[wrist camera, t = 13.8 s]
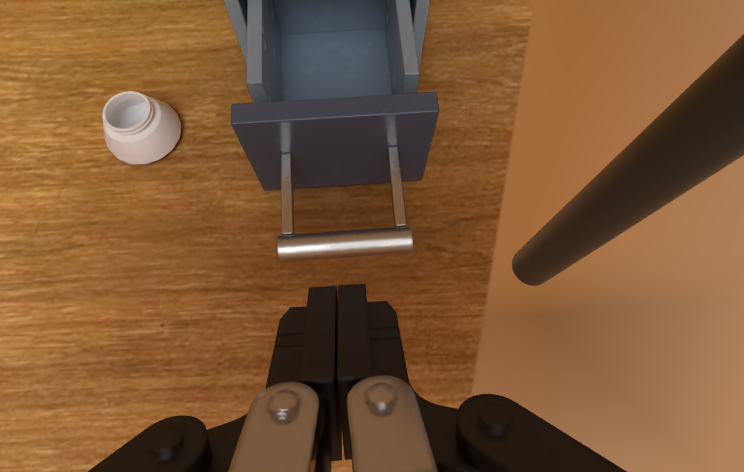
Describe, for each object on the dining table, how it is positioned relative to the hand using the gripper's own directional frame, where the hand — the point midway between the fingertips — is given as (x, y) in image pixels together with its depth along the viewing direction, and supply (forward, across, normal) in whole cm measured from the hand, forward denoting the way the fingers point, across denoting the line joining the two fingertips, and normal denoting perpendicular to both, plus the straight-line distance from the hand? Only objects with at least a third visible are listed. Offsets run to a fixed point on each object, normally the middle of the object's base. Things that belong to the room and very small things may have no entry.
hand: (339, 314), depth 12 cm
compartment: (+21, 0, 0) cm, 21 cm away
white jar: (+23, +14, 0) cm, 27 cm away
